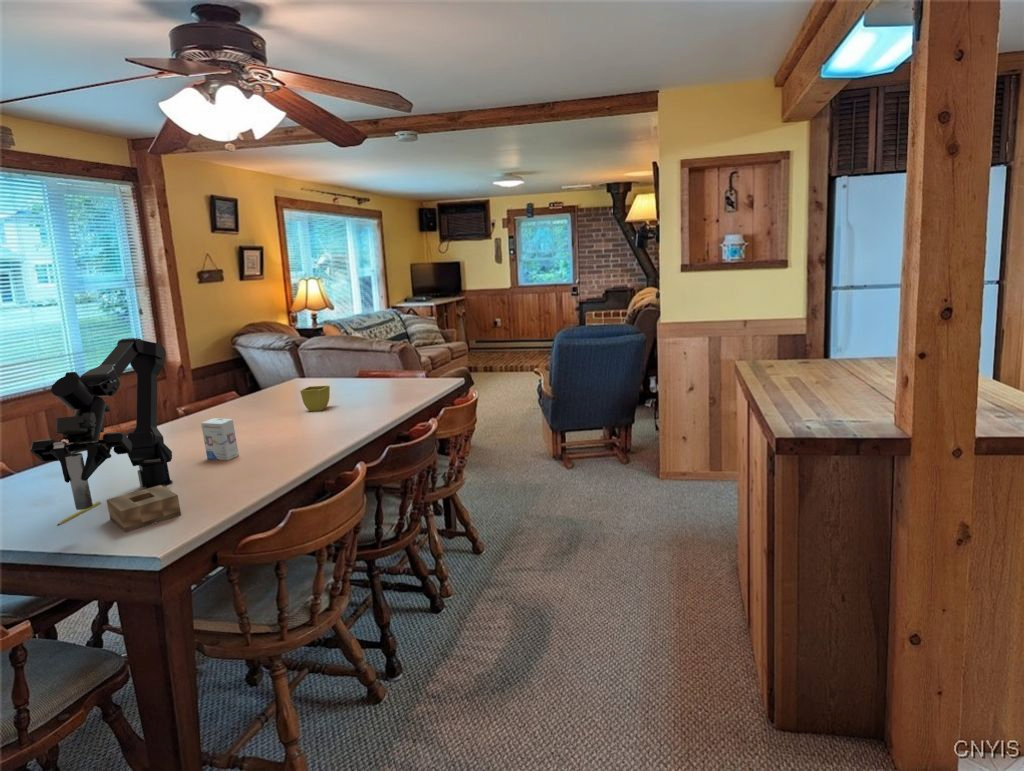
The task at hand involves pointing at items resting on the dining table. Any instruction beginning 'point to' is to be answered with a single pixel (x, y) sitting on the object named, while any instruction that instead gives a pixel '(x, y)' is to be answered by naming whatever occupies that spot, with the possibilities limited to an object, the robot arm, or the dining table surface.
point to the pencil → (79, 513)
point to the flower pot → (315, 397)
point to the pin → (78, 481)
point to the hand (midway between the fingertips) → (75, 480)
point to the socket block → (143, 507)
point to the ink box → (220, 439)
